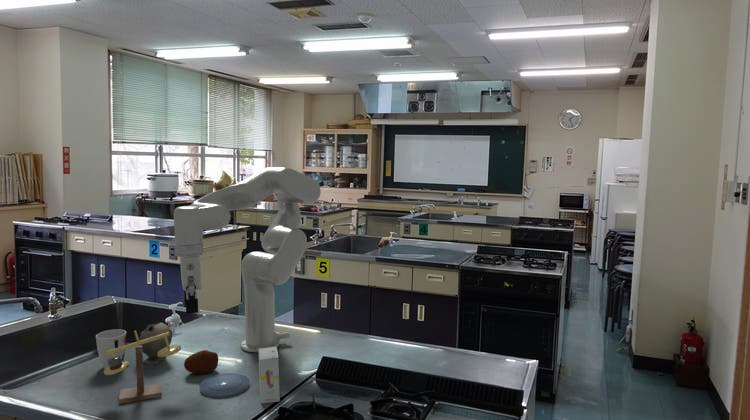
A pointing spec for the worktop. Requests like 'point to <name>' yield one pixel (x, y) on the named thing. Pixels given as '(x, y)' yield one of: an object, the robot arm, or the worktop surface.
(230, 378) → the plate
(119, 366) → the balance beam
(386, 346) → the worktop surface
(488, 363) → the worktop surface
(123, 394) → the balance stand
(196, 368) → the potato
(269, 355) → the ink box
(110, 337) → the cup
